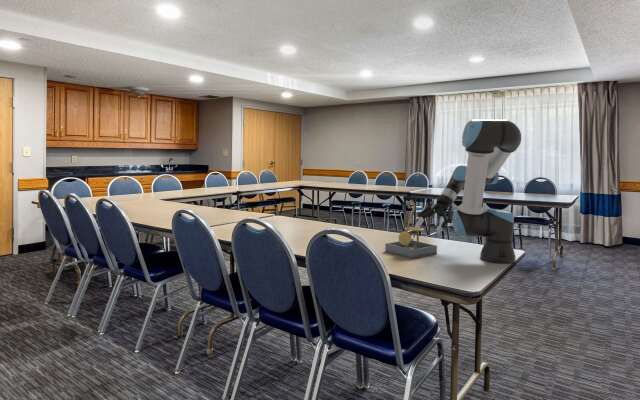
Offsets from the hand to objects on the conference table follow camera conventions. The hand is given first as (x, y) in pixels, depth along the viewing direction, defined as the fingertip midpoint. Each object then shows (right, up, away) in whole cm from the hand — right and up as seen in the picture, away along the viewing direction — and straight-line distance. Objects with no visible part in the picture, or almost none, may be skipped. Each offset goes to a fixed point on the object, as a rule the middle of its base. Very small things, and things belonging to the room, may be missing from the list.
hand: (426, 230), depth 215 cm
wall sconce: (-9, -10, -6) cm, 14 cm away
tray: (-9, -11, -6) cm, 15 cm away
